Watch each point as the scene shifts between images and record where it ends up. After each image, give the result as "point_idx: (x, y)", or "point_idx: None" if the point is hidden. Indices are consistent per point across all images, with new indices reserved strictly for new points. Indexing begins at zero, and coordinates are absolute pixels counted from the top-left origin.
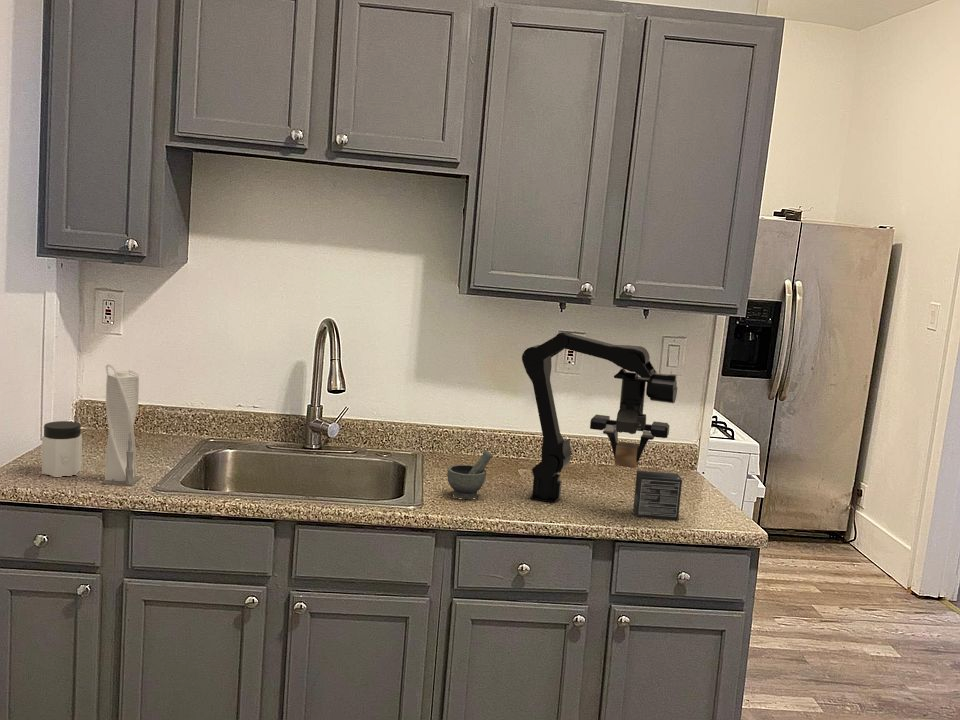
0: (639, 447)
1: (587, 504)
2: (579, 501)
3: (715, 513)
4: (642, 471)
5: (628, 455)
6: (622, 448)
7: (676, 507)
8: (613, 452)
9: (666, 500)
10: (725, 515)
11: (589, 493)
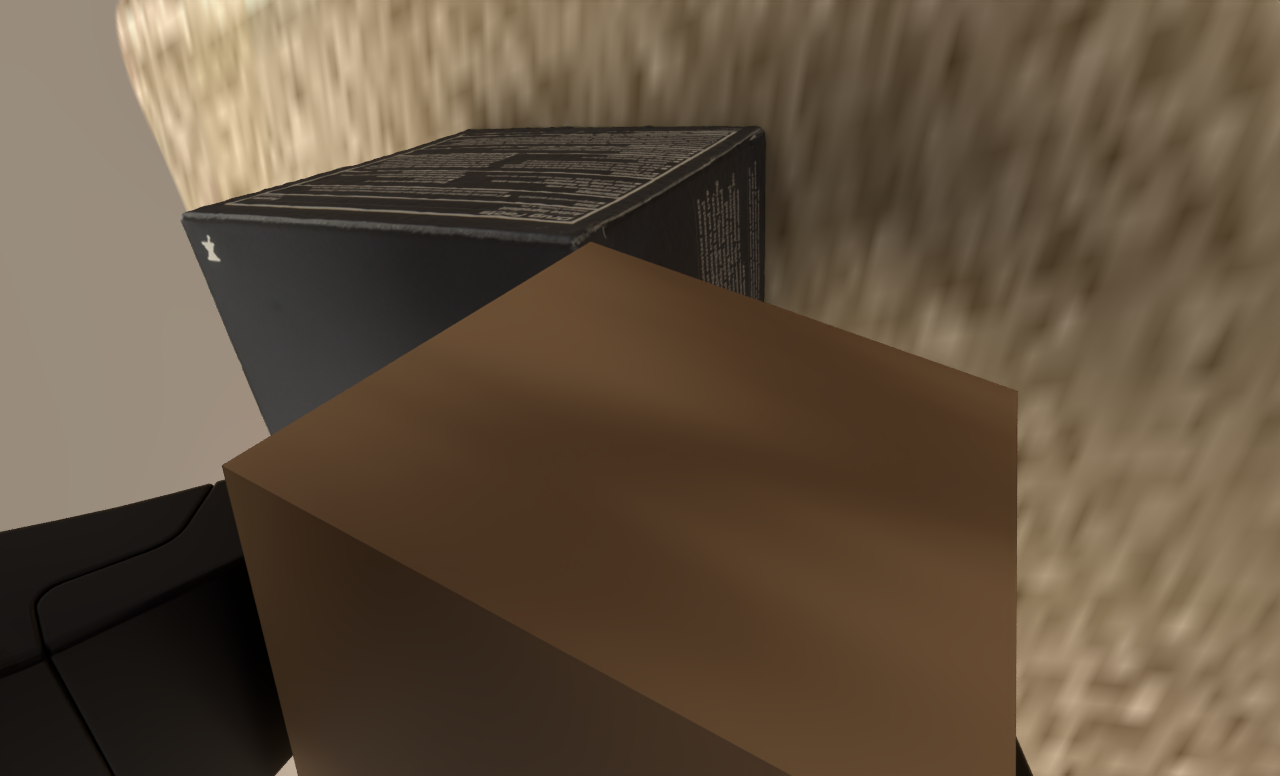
0: (214, 559)
1: (1198, 418)
2: (1264, 499)
3: None
4: None
5: (615, 415)
6: (738, 645)
7: (418, 149)
8: (1016, 749)
9: (453, 160)
10: None
11: (1052, 675)
